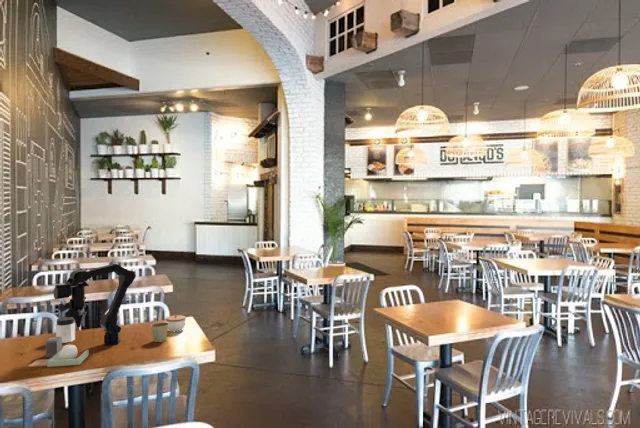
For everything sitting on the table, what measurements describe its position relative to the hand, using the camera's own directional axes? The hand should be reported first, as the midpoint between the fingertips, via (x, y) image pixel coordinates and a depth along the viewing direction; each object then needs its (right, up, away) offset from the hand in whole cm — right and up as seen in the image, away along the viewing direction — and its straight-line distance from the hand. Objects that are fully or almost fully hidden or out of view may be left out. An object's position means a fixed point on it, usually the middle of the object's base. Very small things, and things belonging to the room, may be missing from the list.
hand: (78, 327), depth 221 cm
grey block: (-9, -12, -6) cm, 16 cm away
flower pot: (+35, -12, +16) cm, 40 cm away
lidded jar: (+37, -11, +35) cm, 52 cm away
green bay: (+3, -12, -14) cm, 18 cm away
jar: (-16, -12, +17) cm, 27 cm away
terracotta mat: (-8, -12, -17) cm, 22 cm away
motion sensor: (+3, -13, -14) cm, 19 cm away
